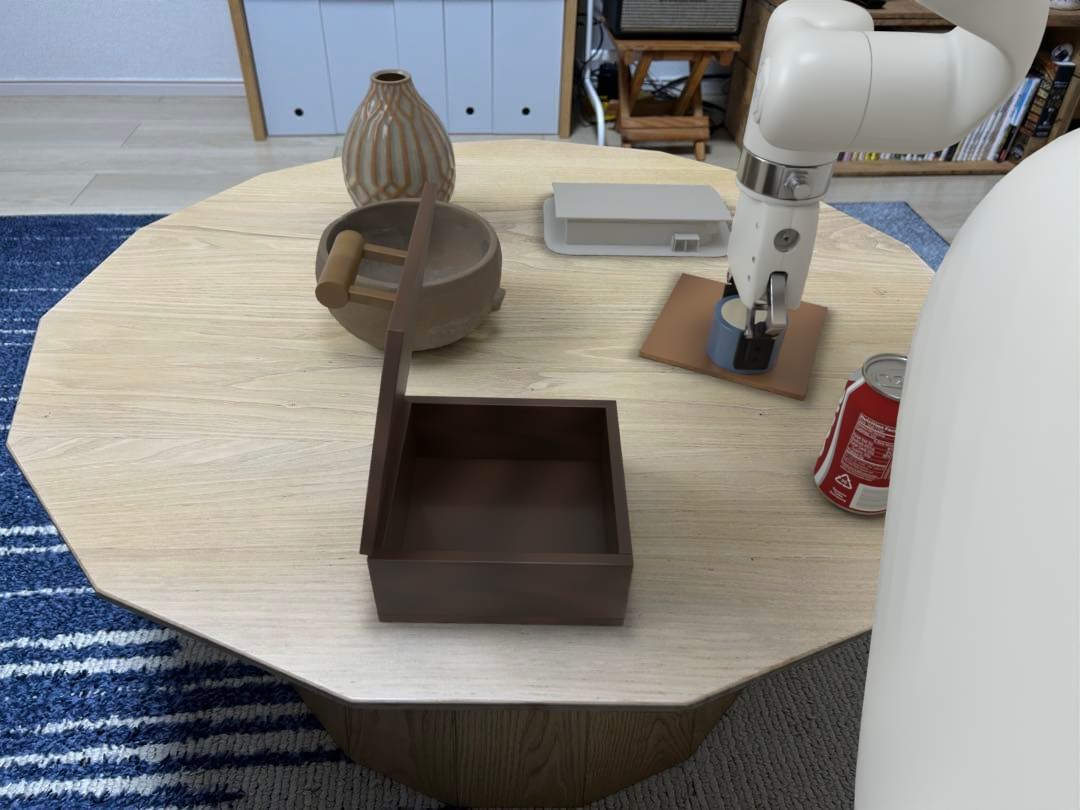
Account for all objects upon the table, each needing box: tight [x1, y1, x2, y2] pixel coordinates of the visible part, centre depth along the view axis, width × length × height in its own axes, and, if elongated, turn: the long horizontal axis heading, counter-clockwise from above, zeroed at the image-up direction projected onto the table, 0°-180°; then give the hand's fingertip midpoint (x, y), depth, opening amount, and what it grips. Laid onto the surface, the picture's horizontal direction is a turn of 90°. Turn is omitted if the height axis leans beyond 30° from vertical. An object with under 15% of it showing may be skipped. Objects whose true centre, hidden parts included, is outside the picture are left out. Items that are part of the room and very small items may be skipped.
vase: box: [341, 68, 457, 209], centre depth 89 cm, size 13×13×18 cm
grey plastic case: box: [542, 181, 733, 258], centre depth 94 cm, size 15×23×4 cm, turn 91°
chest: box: [366, 395, 635, 627], centre depth 56 cm, size 17×16×7 cm
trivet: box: [638, 272, 828, 401], centre depth 79 cm, size 16×16×1 cm
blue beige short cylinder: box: [706, 295, 789, 375], centre depth 74 cm, size 7×7×4 cm
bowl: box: [314, 198, 507, 352], centre depth 75 cm, size 17×18×10 cm
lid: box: [314, 181, 438, 556], centre depth 47 cm, size 18×16×5 cm
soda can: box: [812, 352, 908, 516], centre depth 59 cm, size 7×7×12 cm
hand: (741, 341), depth 75 cm, fingers closed on blue beige short cylinder, 7 cm apart
